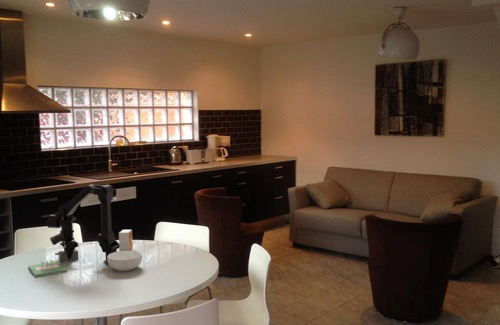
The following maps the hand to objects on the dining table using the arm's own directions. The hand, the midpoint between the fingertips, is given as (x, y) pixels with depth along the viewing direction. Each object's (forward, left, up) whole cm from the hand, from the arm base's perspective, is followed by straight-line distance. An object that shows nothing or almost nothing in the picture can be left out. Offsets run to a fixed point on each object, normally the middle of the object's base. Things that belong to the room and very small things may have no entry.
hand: (68, 257), depth 260 cm
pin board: (-12, +13, -1) cm, 18 cm away
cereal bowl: (-33, -19, -1) cm, 38 cm away
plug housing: (0, 0, -1) cm, 1 cm away
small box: (+2, -32, -1) cm, 32 cm away
